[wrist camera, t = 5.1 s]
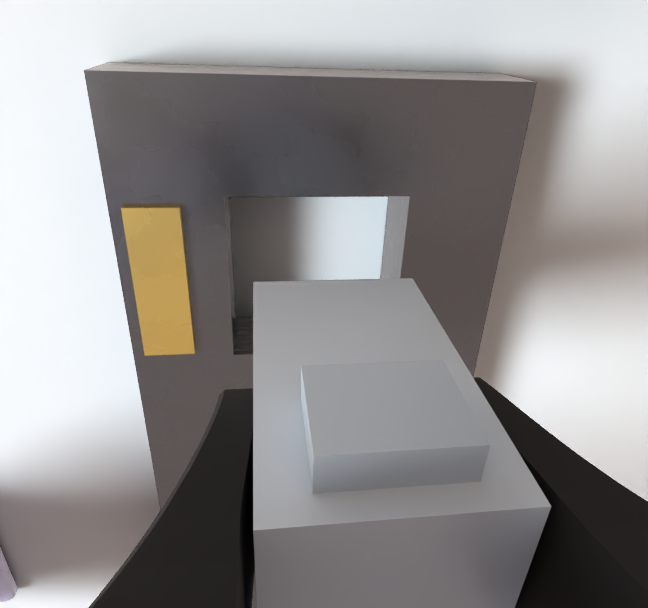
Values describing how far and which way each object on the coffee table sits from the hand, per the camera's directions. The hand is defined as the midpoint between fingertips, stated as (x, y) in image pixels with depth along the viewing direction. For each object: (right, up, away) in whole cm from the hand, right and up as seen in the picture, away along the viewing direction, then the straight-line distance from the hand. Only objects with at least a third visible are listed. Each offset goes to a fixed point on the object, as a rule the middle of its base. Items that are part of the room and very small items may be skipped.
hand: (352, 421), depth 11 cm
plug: (0, +1, +3) cm, 3 cm away
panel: (-1, -1, +11) cm, 11 cm away
